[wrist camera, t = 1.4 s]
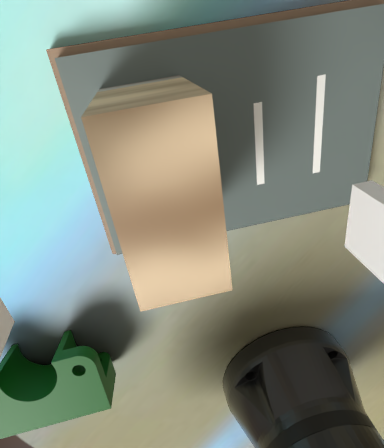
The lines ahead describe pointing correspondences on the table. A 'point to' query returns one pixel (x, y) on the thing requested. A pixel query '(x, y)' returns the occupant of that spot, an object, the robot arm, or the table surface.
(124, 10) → the table surface
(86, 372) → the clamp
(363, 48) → the slate board
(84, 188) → the table surface
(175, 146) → the wooden block
